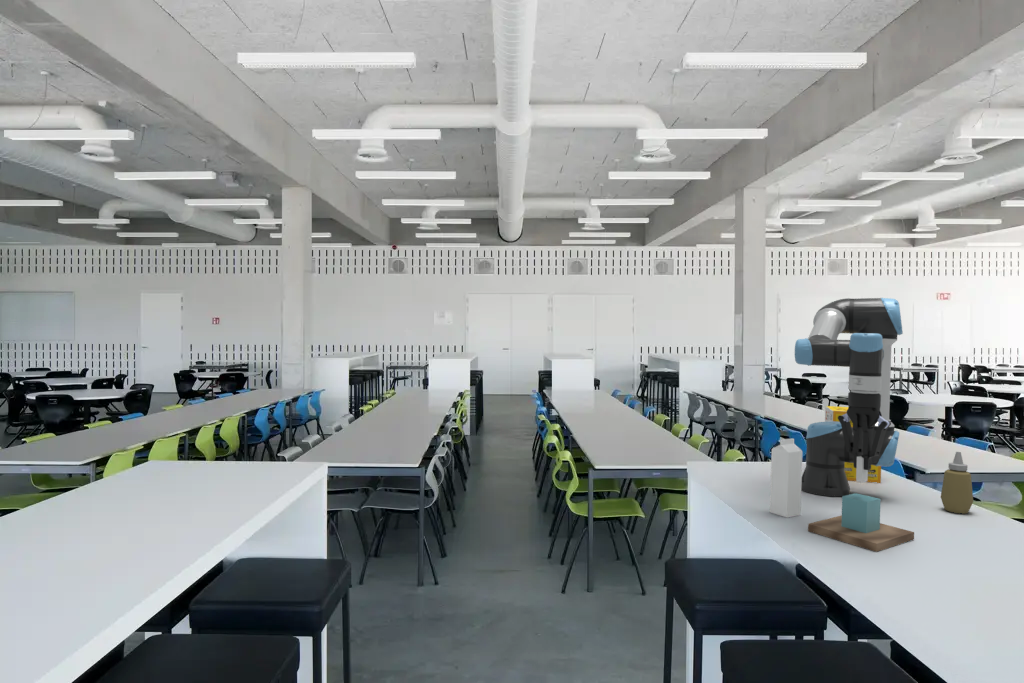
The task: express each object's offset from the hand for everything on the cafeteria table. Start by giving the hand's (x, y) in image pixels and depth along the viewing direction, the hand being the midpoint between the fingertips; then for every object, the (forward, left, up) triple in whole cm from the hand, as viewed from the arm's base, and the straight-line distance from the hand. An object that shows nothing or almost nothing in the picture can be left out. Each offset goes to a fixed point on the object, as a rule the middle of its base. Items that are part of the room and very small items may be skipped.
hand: (861, 481), depth 167 cm
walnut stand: (0, 0, -14) cm, 14 cm away
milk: (-22, 0, -15) cm, 26 cm away
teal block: (0, 0, -12) cm, 12 cm away
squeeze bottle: (+2, +49, -15) cm, 51 cm away
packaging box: (-40, +66, -15) cm, 79 cm away
